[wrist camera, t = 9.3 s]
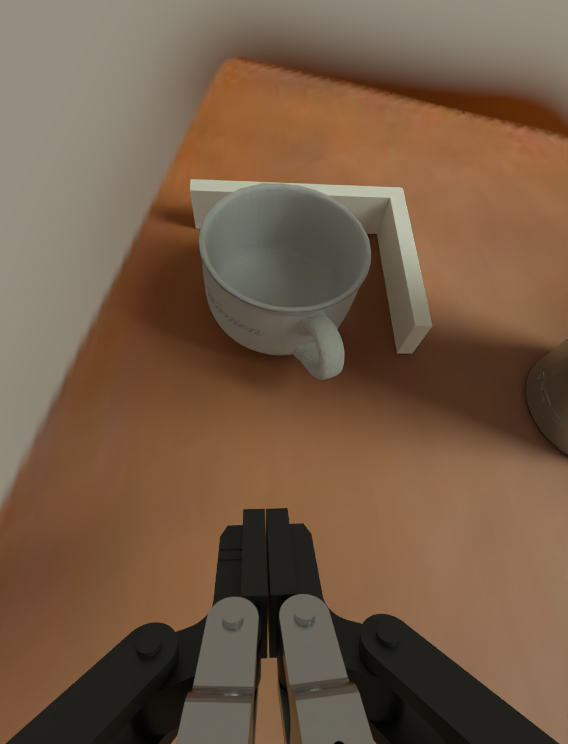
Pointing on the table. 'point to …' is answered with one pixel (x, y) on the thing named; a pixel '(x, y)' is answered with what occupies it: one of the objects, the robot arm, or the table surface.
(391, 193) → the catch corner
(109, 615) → the table surface
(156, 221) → the table surface
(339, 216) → the teacup
